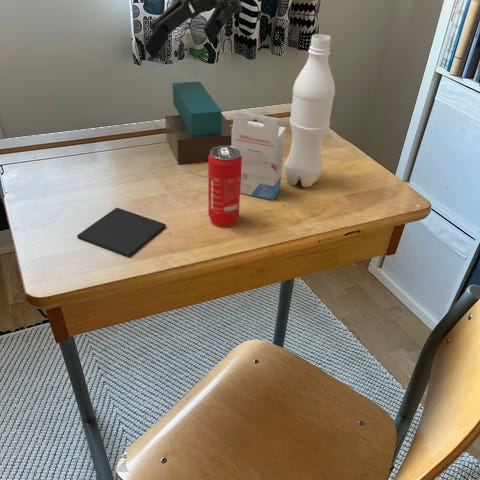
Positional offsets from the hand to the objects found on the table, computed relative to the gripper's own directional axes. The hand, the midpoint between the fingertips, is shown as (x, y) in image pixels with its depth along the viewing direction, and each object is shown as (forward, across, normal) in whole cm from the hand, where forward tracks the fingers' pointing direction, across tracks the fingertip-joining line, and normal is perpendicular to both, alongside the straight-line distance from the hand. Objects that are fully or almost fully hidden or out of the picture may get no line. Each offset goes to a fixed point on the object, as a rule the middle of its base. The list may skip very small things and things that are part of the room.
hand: (178, 44), depth 94 cm
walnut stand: (+6, +3, -19) cm, 20 cm away
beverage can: (+28, -13, -16) cm, 35 cm away
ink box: (+17, -13, -21) cm, 30 cm away
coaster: (+38, -2, -8) cm, 39 cm away
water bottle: (+11, -19, -26) cm, 34 cm away
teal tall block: (+1, +3, -13) cm, 13 cm away
